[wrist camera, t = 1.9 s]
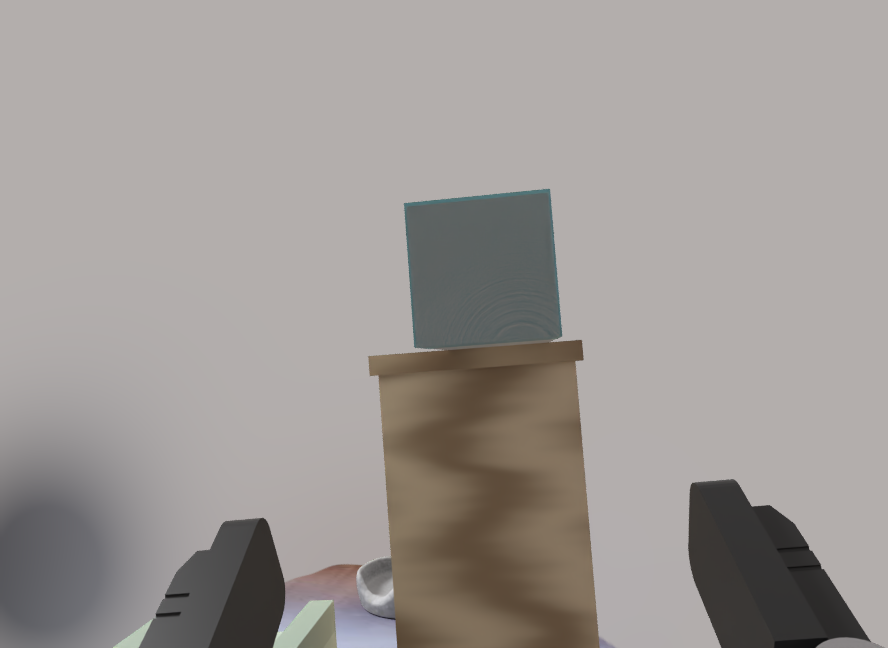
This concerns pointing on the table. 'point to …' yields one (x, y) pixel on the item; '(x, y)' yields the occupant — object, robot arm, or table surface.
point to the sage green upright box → (300, 644)
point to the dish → (377, 587)
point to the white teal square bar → (483, 271)
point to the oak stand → (487, 497)
